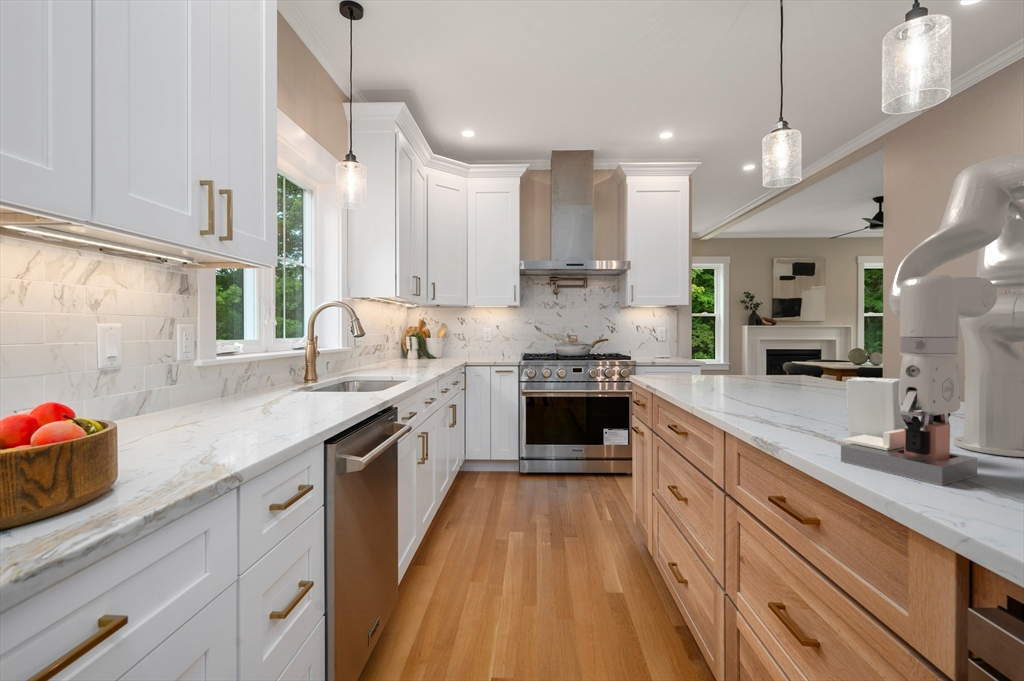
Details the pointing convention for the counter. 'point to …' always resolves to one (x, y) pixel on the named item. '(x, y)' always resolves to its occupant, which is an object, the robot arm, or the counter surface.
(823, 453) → the counter surface
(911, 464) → the socket
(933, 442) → the plug
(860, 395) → the skincare box
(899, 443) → the cream stepped block
